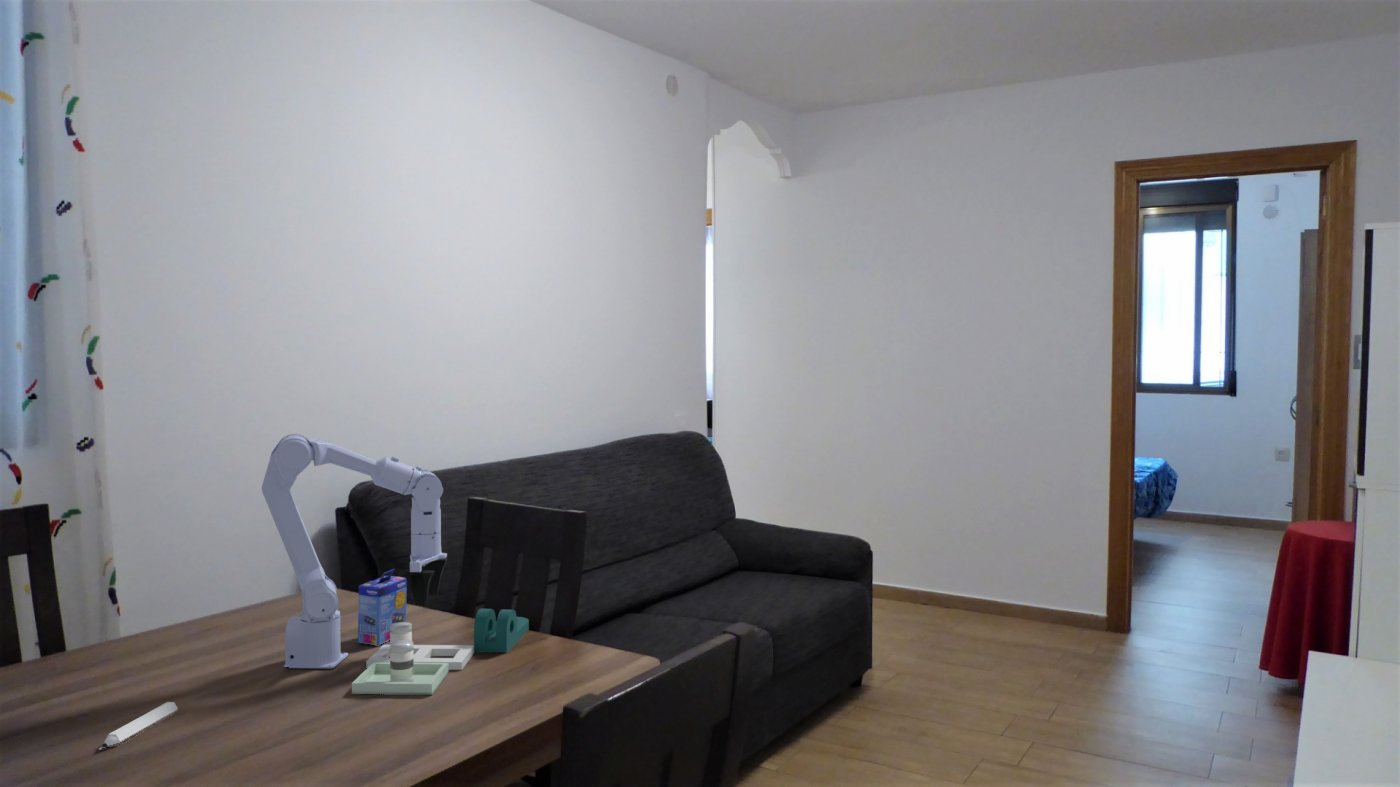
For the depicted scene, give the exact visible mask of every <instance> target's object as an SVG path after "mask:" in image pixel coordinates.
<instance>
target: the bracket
mask: <svg viewBox="0 0 1400 787" xmlns="http://www.w3.org/2000/svg"><path fill="white" fill-rule="evenodd" d="M529 621H530V620H529V618H526V617H523V616H517V612H516V610H514V609H500V610H499V612H498V615H497V617H496V612H495V609H494V608H479V609H478V610H477V612H476V616H475V618H474V624H473V625H474V626H473V645H474V651H477V652H476V653H479V652H478V651H483V652H482V653H492V652H507V653H509V651H511V649H512V648H514V646H515V645H517V643H518V642H519V641H520V640H521V639H522V638H523V637H524V636H525V635H524V633H525V632H526V631H528V632H529V630H530V628H529V627H530V624H529V623H530V622H529ZM523 635H524V636H523ZM522 636H523V637H522ZM521 637H522V638H521ZM518 640H519V641H518Z"/></svg>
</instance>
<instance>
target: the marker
mask: <svg viewBox="0 0 1400 787" xmlns="http://www.w3.org/2000/svg"><path fill="white" fill-rule="evenodd" d="M178 709H179V708H178V706H177V705H176V702H174V701H172V702H171V701H166V702H164V703H163V704H161V705H159V706H158V707H156V708H153V709H152V710H149V712H147V713H145V714H143V715H141V716H139V717H138V718H136V719H134V720H132V721H130V722H129V723H127V724H125V725H123V726H121V727H119V728H117V729H116V730H114V731H111V732H109V733H108V734H107V736H106V738H105V740H104V742H103V744H101V746H100V747H99V748H98V750H100V751H101V750H103V749H102V748H105V747H107V746H109V745H113V744H116V743H120V742H122V741H124V740H125V739H127V738H129V737H130V736H132V735H134V734H136V733H138V732H139V731H141V730H143V729H144V728H146V727H148V726H150V725H152V724H153V723H156V722H157V721H159V720H161V719H162V718H164V717H166V716H168V715H169V714H171V713H173V712H175V711H176V712H177V711H178ZM105 749H106V748H105Z"/></svg>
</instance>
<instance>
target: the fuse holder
mask: <svg viewBox="0 0 1400 787" xmlns="http://www.w3.org/2000/svg"><path fill="white" fill-rule="evenodd" d="M474 653H475V652H474V644H473V645H472V644H471V645H469V644H468V645H467V644H466V645H465V644H464V645H463V644H462V645H461V644H452V645H451V644H443V645H442V644H413V657H414V663H448V671H463V669H464V668H465V666H466V665H467V664H468V662H469V661H470V660H471V658H472V656H473V655H474ZM389 657H390V644H382V645H381V646H380V648H378V649H377V650H376V651H375V652H374V653H373V654H372V655H371V656H370V657H369V658H368V659H367V660H366V661H365V663H366V664H365V665H366V666H365V667H366V668H368V667H369V666H370V665H371V664H372V663H373V662H390V658H389ZM366 668H365V669H366Z"/></svg>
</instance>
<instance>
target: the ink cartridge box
mask: <svg viewBox="0 0 1400 787" xmlns="http://www.w3.org/2000/svg"><path fill="white" fill-rule="evenodd" d="M394 572H395V568H393V569H390V570H388V571H386V572H383V573H382V575H381V576H380V577H378V578H376V579H374V580H370V581H367V582H365V583H363V584H360V585H358V601H357V602H358V603H357V604H358V607H357V609H358V614H357V615H358V616H357V620H358V621H357V629H358V630H357V643H358V644H362V643H364V644H363V645H367V644H371V645H370V646H372V645H377V646H376V647H379V646H378V645H380V646H382V645H384V644H386V643H385V642H387V641H389V640H390V625H391V624H394V623H398V622H407V597H408V596H407V595H408V594H407V592H408V591H407V590H408V588H407V587H408V581H407V579H406V578H405V577H402V576H395V575H393V574H394ZM389 642H390V641H389ZM383 643H384V644H383ZM387 643H388V642H387ZM381 644H382V645H381Z"/></svg>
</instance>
